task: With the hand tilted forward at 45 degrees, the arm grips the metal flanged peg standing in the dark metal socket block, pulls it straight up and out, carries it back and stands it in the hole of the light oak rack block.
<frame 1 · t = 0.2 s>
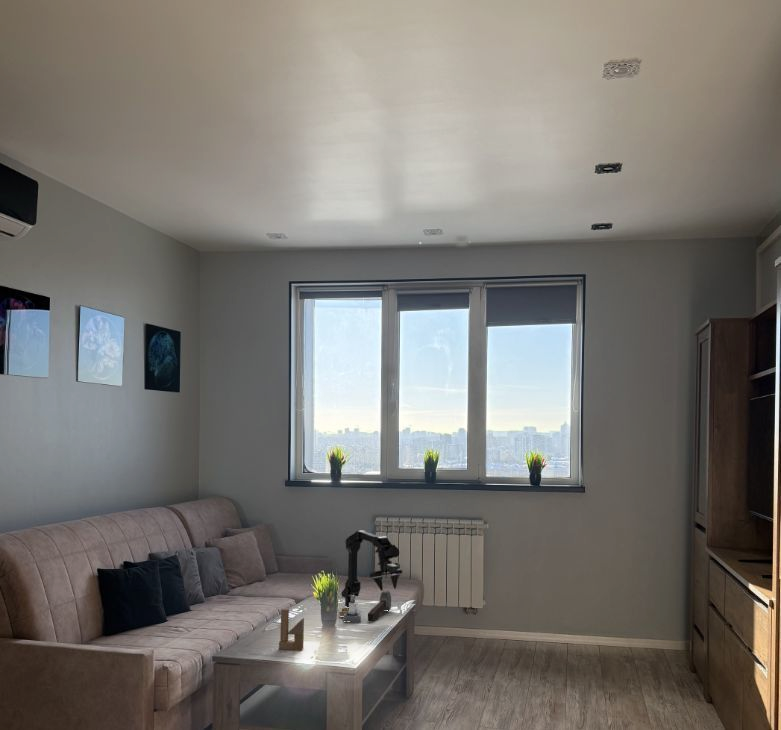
hand: (388, 589, 427), 15 cm above the table, tool tilted 15°, fingers open, 9 cm apart
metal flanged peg: (352, 607, 422), in the socket
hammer: (378, 616, 433), on the table
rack: (347, 615, 432), on the table
wooden block: (291, 649, 365), on the table
socket: (352, 620, 422), on the table
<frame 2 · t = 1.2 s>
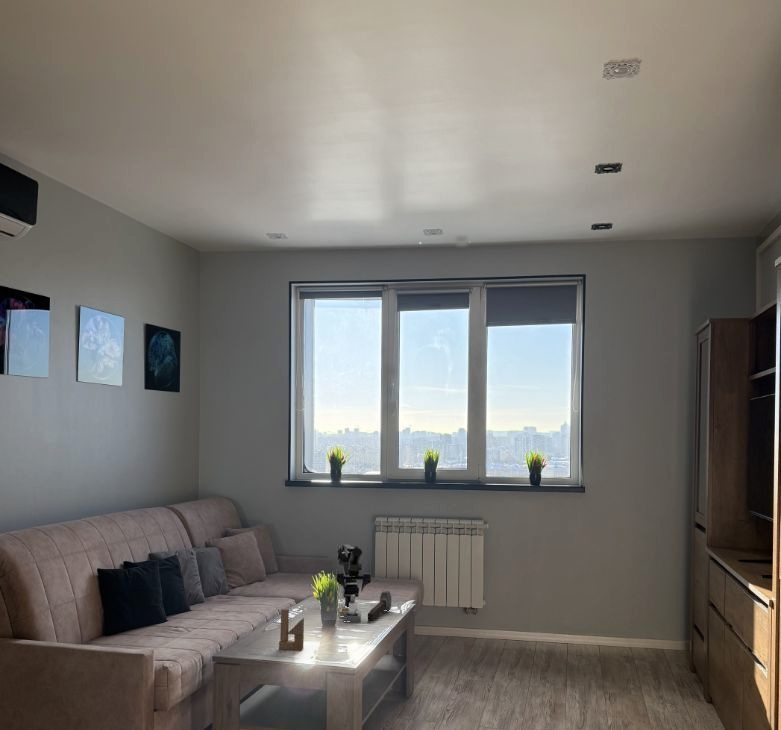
hand: (353, 591, 431), 13 cm above the table, tool tilted 45°, fingers open, 9 cm apart
nothing on the table moved.
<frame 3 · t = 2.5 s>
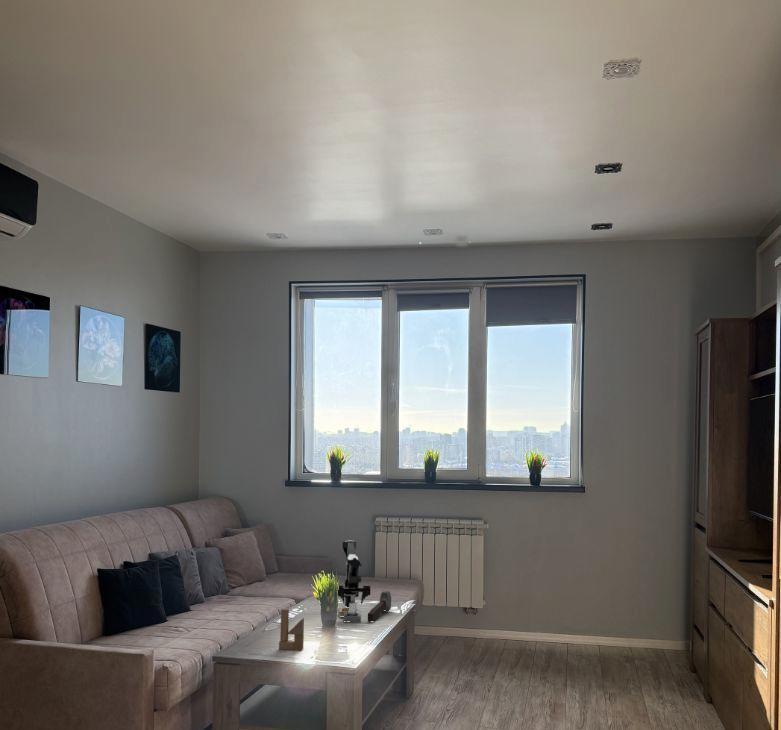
hand: (352, 603, 423), 8 cm above the table, tool tilted 45°, fingers open, 9 cm apart
nothing on the table moved.
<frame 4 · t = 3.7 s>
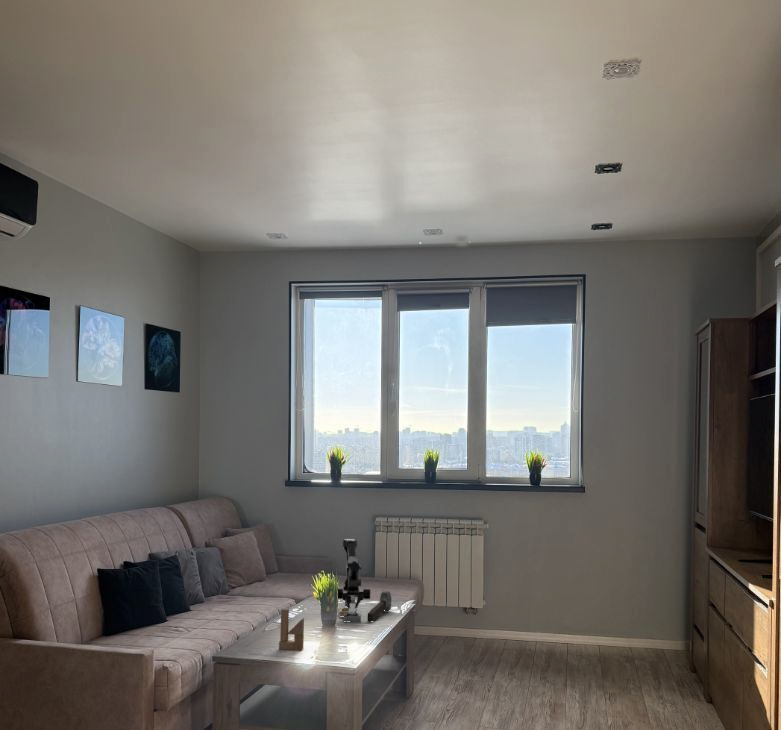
hand: (352, 607, 421), 7 cm above the table, tool tilted 45°, fingers closed on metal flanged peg, 4 cm apart
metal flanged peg: (352, 607, 422), in the socket, touching gripper
everything else where it was.
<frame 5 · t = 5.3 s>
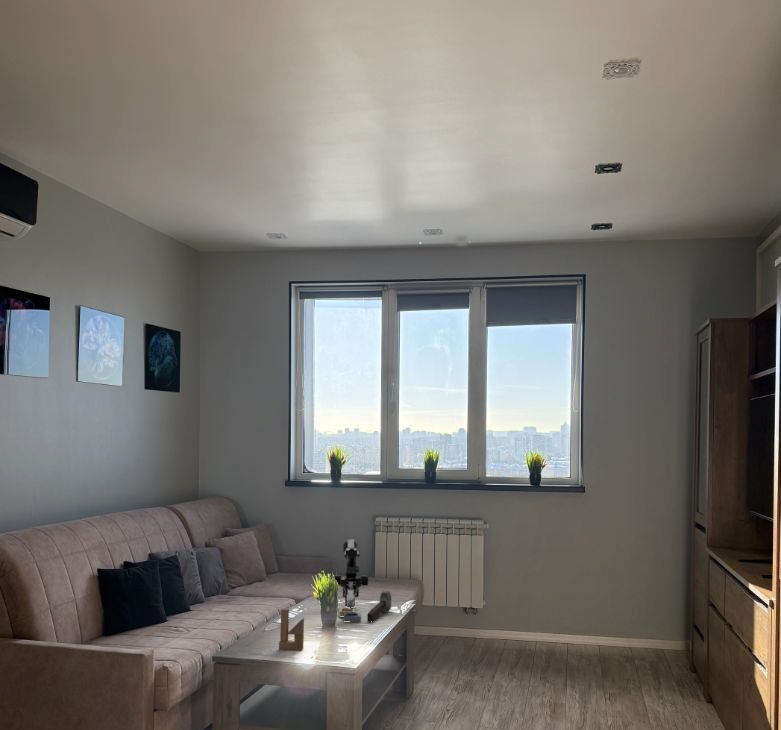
hand: (350, 594, 426), 13 cm above the table, tool tilted 45°, fingers closed on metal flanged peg, 4 cm apart
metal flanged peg: (350, 594, 428), point 13 cm above the table, touching gripper
everything else where it was.
when the fingers open (8 cm above the table, at t = 7.3 s): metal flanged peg drops 1 cm, resting in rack.
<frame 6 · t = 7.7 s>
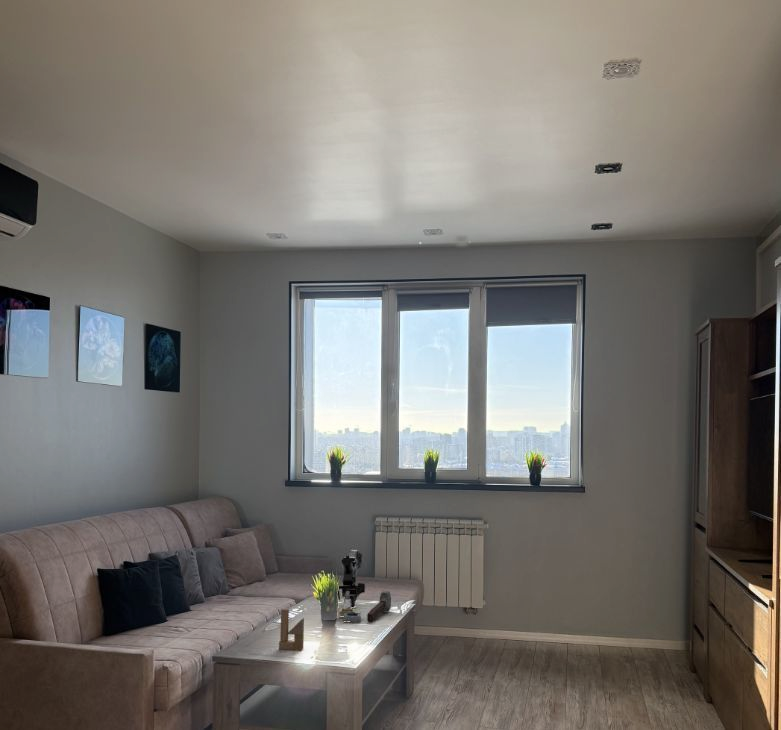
hand: (347, 601, 431), 8 cm above the table, tool tilted 45°, fingers open, 8 cm apart
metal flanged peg: (347, 603, 432), in the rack
everything else where it was.
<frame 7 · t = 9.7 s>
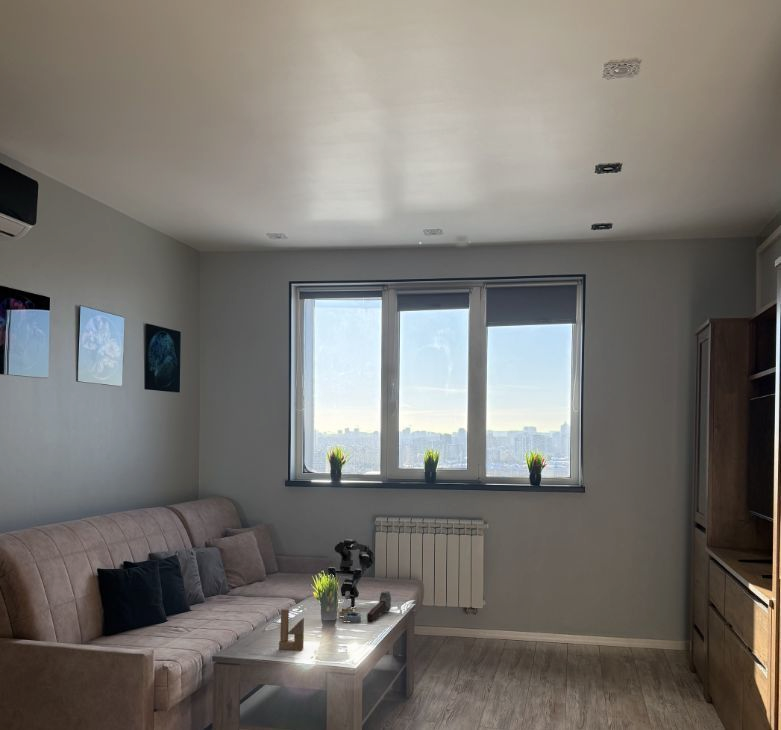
hand: (343, 586, 438), 14 cm above the table, tool tilted 35°, fingers open, 9 cm apart
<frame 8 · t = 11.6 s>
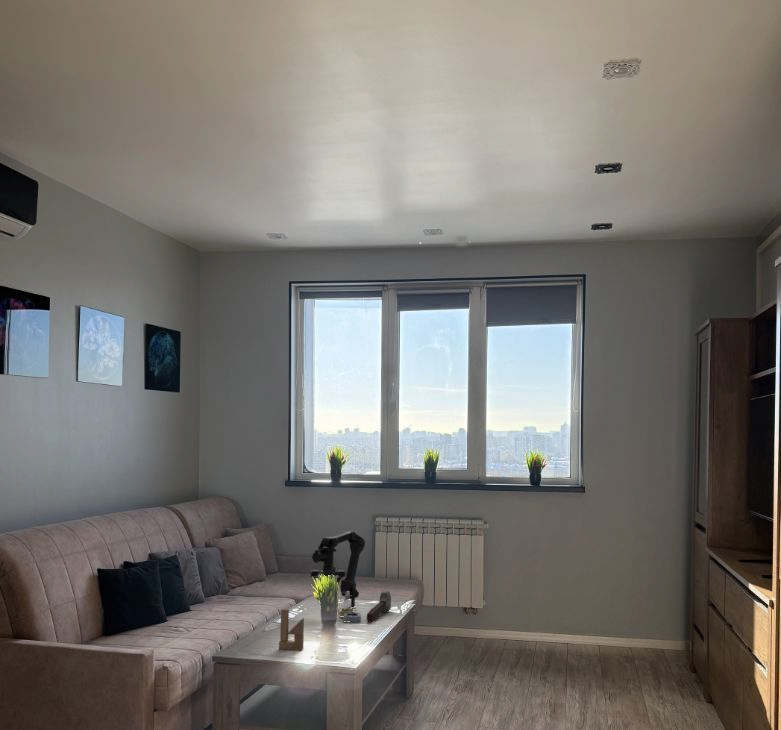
hand: (327, 589, 438), 13 cm above the table, tool pointing down, fingers open, 9 cm apart
at the end: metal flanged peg 0.1 cm off-centre on the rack, point 6.5 cm above the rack's base; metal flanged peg tilted 0°; the gripper is holding nothing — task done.
